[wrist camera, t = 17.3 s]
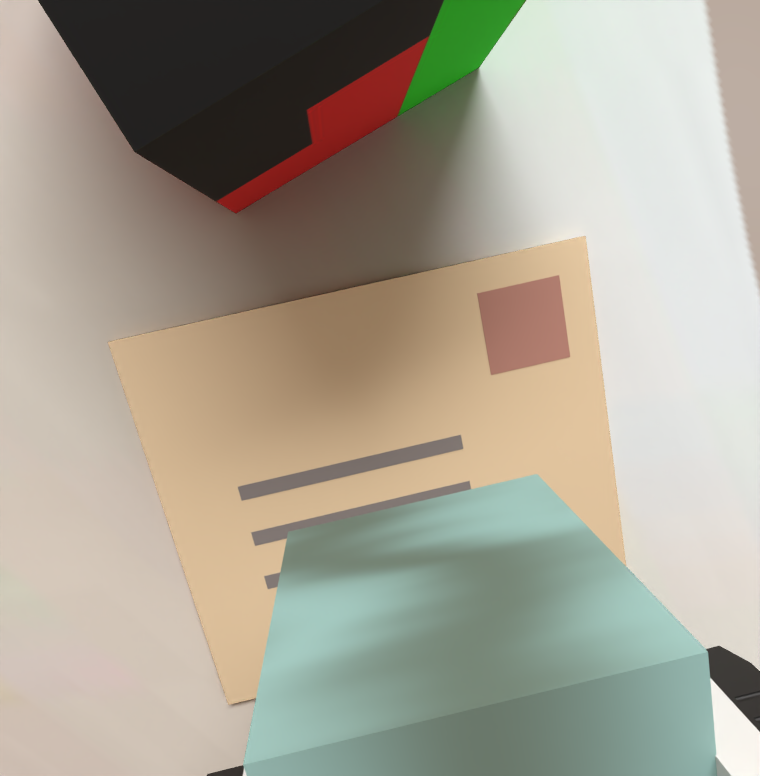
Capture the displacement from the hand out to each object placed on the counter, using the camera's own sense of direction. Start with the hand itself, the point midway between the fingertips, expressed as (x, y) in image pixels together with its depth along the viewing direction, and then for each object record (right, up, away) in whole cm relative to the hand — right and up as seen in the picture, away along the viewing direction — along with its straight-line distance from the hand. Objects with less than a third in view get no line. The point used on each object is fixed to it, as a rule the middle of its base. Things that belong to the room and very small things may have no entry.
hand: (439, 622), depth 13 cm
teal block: (0, 0, 0) cm, 0 cm away
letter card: (-1, +2, +9) cm, 9 cm away
